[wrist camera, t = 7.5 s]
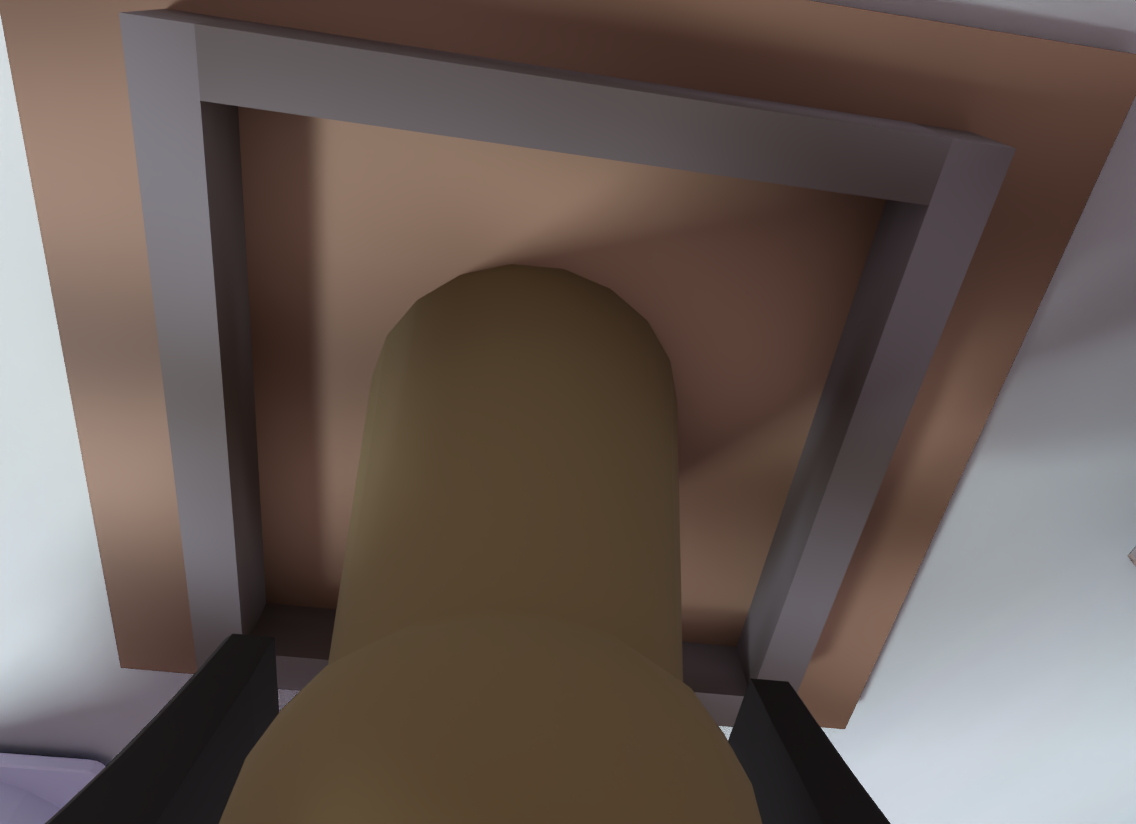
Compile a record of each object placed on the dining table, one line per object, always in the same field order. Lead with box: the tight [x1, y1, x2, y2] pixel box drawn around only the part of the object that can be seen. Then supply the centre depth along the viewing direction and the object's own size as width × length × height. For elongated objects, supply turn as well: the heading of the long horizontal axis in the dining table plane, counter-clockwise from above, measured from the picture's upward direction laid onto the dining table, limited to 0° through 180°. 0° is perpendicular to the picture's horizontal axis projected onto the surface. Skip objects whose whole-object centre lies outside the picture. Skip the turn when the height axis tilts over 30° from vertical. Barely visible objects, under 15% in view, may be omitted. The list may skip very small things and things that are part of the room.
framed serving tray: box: [0, 0, 1136, 729], centre depth 15 cm, size 16×18×2 cm
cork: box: [219, 264, 762, 824], centre depth 11 cm, size 6×6×11 cm
